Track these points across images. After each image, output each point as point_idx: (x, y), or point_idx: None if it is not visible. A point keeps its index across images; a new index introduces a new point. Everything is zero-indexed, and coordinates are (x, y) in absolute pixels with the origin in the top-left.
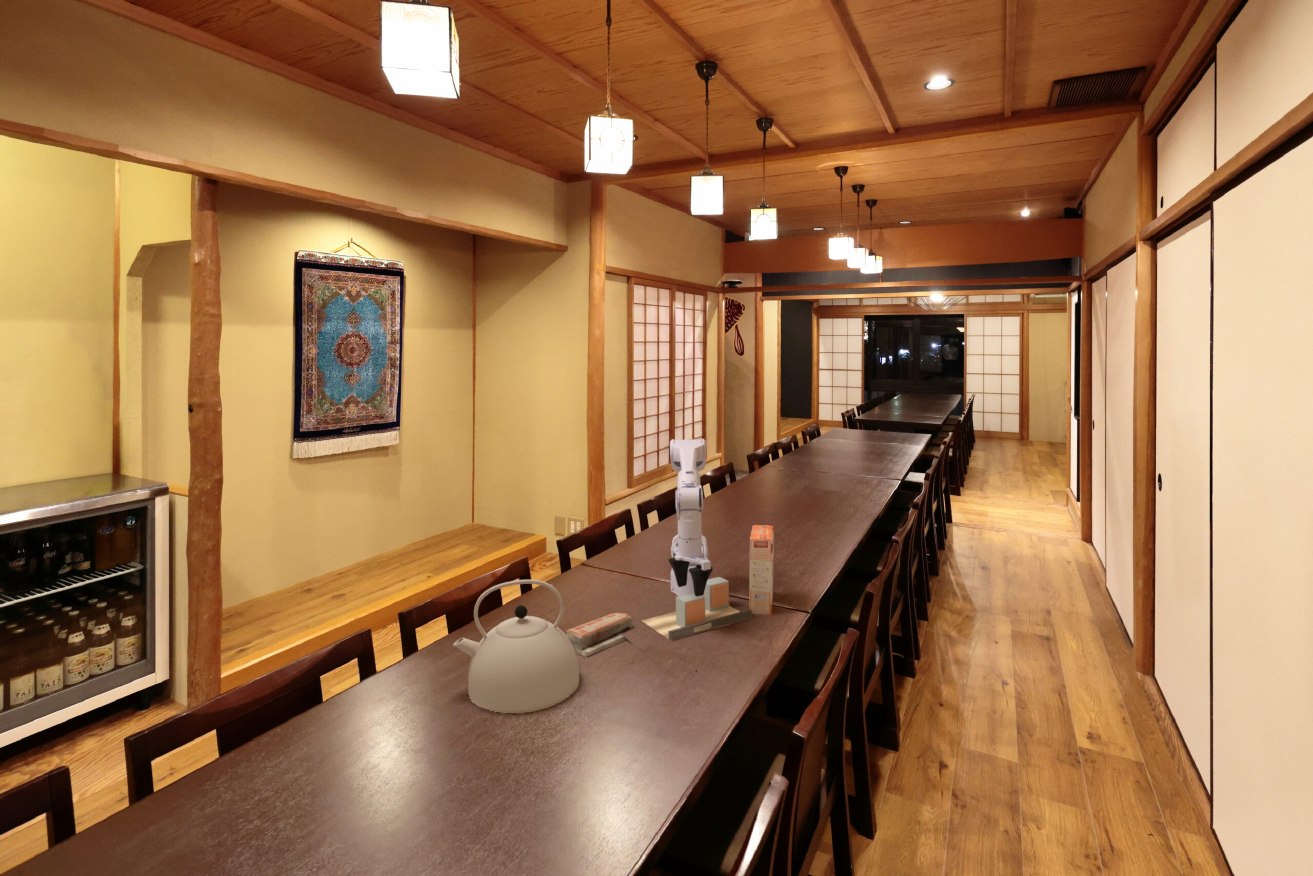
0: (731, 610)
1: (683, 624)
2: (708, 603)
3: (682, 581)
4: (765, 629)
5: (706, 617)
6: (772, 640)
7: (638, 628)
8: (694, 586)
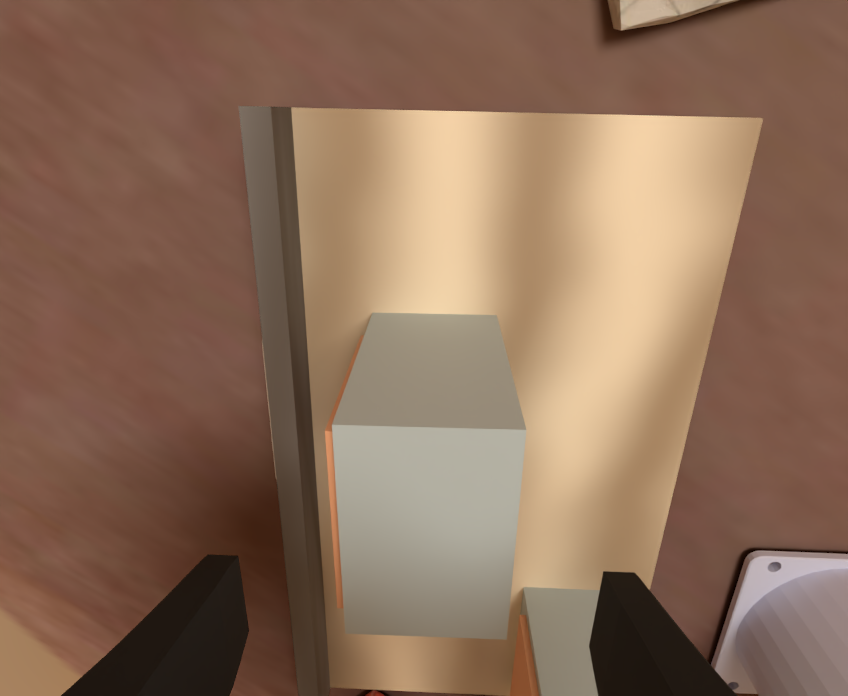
0: (460, 672)
1: (389, 325)
2: (548, 631)
3: (615, 667)
4: None
5: None
6: (81, 612)
7: (706, 58)
8: (134, 656)
